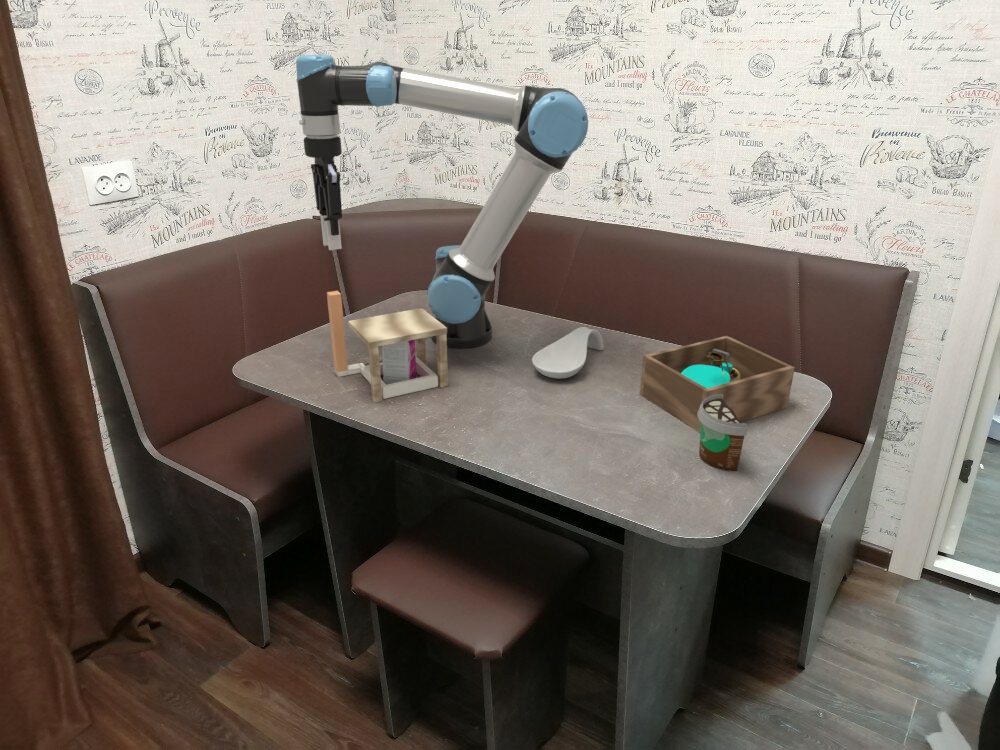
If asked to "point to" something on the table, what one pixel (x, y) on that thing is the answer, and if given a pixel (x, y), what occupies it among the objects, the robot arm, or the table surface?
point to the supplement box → (399, 362)
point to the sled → (343, 369)
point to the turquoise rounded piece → (713, 371)
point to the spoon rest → (567, 353)
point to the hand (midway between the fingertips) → (332, 246)
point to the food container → (720, 434)
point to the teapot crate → (747, 397)
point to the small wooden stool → (401, 340)
